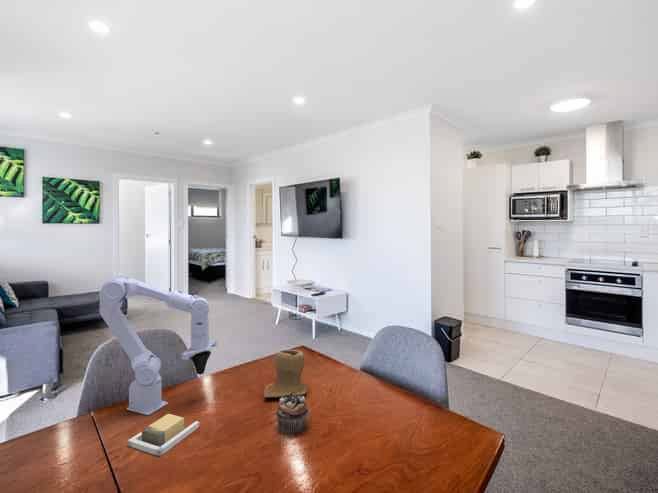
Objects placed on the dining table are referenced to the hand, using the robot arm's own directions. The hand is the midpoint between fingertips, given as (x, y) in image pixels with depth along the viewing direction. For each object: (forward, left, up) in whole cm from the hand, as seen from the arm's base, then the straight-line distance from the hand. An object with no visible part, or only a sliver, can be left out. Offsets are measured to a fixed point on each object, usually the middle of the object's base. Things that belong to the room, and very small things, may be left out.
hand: (200, 373), depth 116 cm
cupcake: (+36, -2, -10) cm, 37 cm away
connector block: (+5, -20, -10) cm, 23 cm away
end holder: (+5, -19, -9) cm, 22 cm away
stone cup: (+24, +16, -10) cm, 30 cm away
